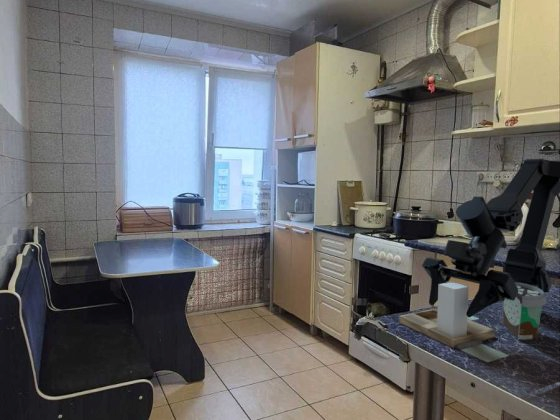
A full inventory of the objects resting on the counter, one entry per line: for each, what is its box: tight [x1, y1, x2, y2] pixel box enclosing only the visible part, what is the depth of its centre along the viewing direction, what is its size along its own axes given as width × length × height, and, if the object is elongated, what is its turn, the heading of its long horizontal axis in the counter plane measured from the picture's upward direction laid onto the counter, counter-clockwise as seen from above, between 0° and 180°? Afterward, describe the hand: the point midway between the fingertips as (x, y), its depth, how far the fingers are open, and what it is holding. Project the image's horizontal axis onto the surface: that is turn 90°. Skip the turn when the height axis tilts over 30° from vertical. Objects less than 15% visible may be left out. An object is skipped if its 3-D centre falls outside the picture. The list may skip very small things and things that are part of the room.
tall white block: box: [437, 281, 470, 339], centre depth 82 cm, size 4×4×11 cm
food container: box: [502, 283, 547, 342], centre depth 85 cm, size 12×6×10 cm, turn 168°
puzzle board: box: [398, 307, 510, 363], centre depth 86 cm, size 18×22×2 cm
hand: (448, 309), depth 82 cm, fingers open, 8 cm apart
